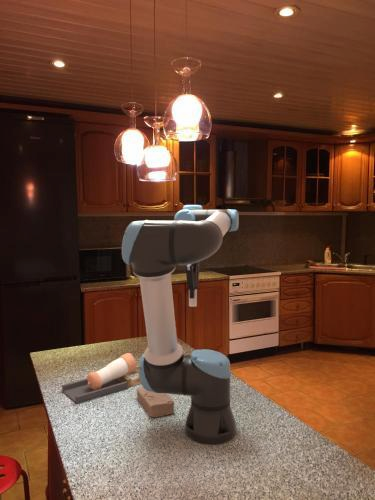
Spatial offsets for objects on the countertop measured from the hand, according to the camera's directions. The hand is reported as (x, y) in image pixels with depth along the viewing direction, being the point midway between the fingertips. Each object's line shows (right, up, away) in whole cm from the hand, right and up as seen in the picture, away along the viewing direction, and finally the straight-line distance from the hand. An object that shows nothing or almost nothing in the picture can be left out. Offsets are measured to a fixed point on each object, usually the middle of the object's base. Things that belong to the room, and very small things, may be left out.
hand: (192, 306), depth 154 cm
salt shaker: (-24, -22, +2) cm, 33 cm away
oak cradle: (-24, -29, +3) cm, 38 cm away
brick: (-13, -32, -19) cm, 39 cm away
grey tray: (-36, -30, -7) cm, 48 cm away
